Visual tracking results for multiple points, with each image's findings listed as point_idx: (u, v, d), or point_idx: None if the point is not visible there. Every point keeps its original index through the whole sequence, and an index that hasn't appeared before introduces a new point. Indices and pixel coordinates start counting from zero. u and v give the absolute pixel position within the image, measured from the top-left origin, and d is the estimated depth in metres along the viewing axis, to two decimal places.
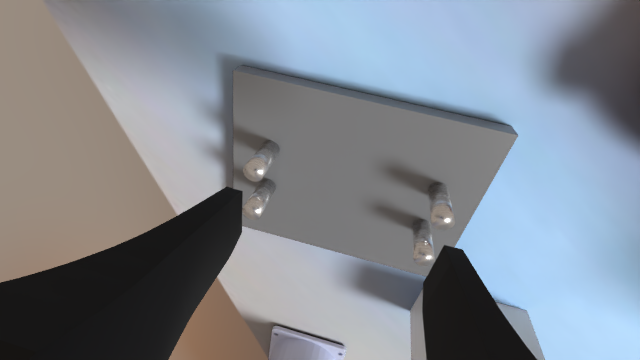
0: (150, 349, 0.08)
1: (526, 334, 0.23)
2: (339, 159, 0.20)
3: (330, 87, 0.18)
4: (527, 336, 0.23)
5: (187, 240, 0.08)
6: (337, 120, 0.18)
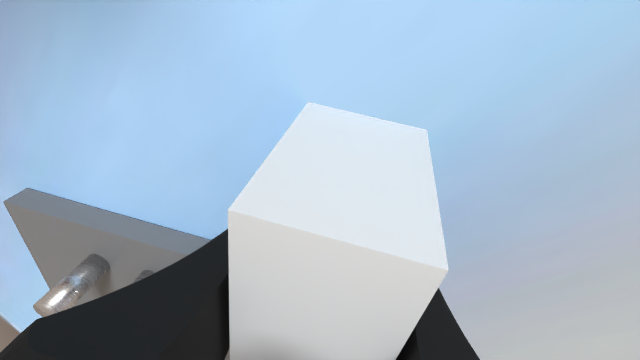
0: None
1: None
2: None
3: None
4: None
5: None
6: None
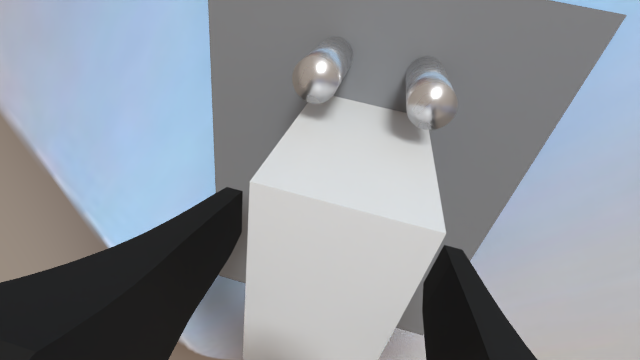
0: (150, 349, 0.08)
1: None
2: None
3: None
4: None
5: (187, 240, 0.08)
6: (246, 195, 0.15)
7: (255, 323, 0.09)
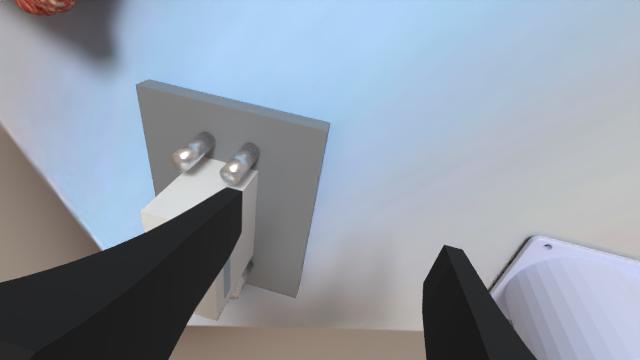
0: (150, 349, 0.08)
1: None
2: None
3: None
4: None
5: (187, 240, 0.08)
6: None
7: None
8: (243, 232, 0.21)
